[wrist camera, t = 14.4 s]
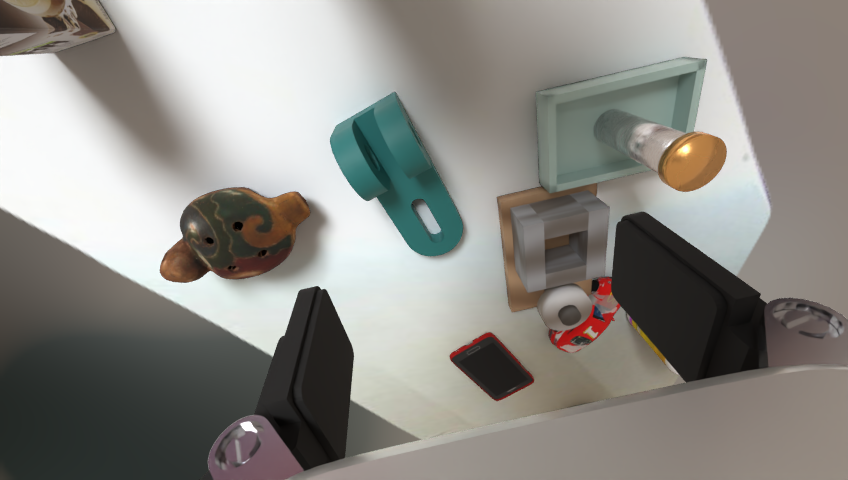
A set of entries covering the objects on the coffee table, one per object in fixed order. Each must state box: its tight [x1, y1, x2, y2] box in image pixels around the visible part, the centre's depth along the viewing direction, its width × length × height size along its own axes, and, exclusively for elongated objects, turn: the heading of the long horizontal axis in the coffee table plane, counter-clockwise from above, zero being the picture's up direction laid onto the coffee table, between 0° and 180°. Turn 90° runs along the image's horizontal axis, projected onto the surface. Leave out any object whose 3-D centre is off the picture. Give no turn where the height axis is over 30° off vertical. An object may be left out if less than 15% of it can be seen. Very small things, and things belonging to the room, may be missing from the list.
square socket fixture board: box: [497, 183, 610, 331], centre depth 43 cm, size 17×11×8 cm, turn 12°
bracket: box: [330, 92, 463, 256], centre depth 36 cm, size 18×7×8 cm, turn 27°
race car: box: [549, 277, 620, 353], centre depth 51 cm, size 13×5×4 cm, turn 150°
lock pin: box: [594, 109, 727, 192], centre depth 32 cm, size 4×4×12 cm
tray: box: [536, 57, 707, 193], centre depth 37 cm, size 10×15×3 cm, turn 102°
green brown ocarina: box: [160, 187, 311, 283], centre depth 37 cm, size 10×15×8 cm, turn 117°
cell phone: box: [450, 332, 534, 401], centre depth 57 cm, size 8×15×1 cm, turn 37°
